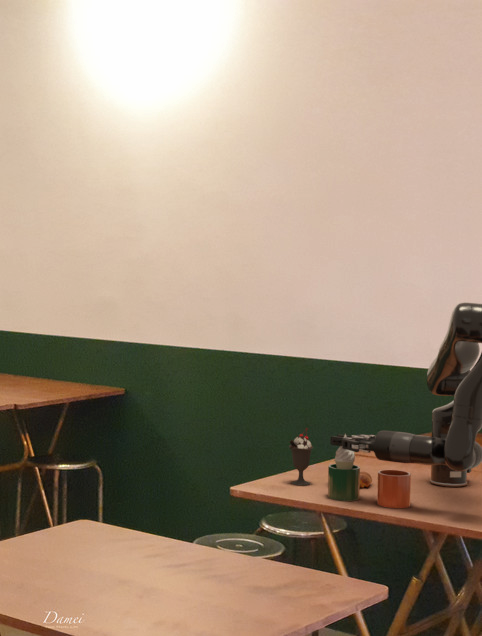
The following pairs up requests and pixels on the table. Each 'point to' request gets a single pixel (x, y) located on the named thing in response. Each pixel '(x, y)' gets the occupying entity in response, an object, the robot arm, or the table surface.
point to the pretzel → (365, 479)
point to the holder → (394, 488)
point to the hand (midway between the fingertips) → (334, 439)
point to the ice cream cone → (344, 458)
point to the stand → (343, 483)
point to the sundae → (301, 456)
